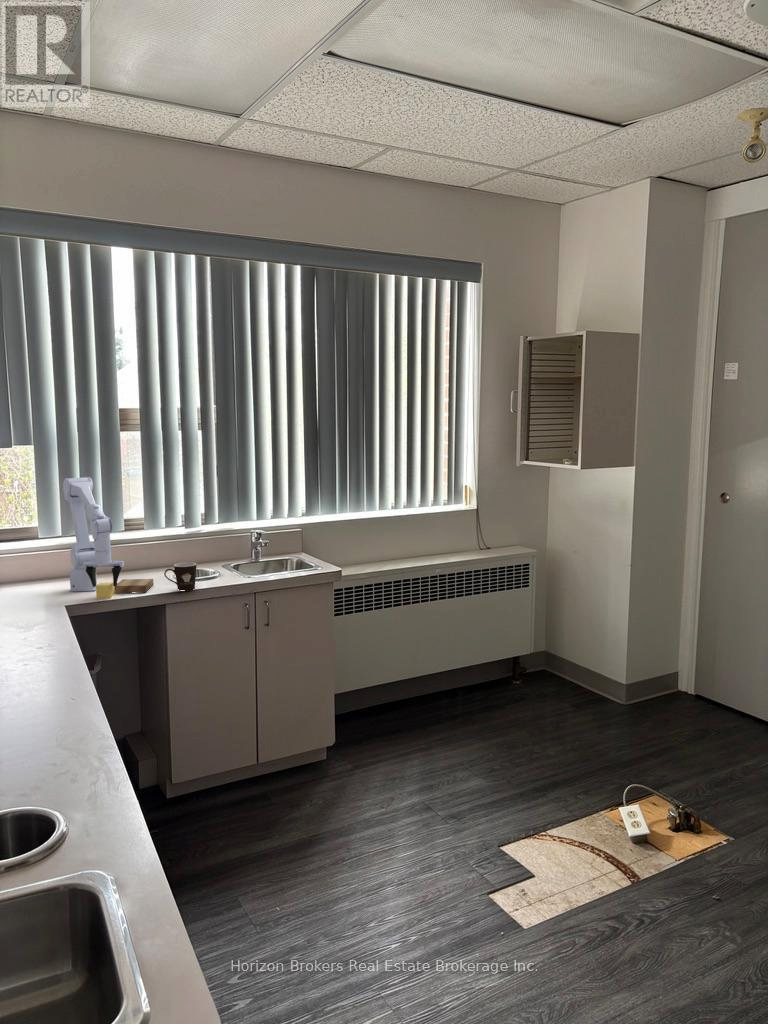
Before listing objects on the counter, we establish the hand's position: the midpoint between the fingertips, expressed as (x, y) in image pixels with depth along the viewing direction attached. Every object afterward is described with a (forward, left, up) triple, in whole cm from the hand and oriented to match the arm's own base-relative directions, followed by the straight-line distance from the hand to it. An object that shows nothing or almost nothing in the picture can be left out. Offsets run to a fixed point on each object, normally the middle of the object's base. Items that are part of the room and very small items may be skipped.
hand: (104, 586), depth 291 cm
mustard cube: (0, 0, -4) cm, 4 cm away
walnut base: (+8, +11, -4) cm, 14 cm away
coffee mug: (+27, +9, -4) cm, 29 cm away
